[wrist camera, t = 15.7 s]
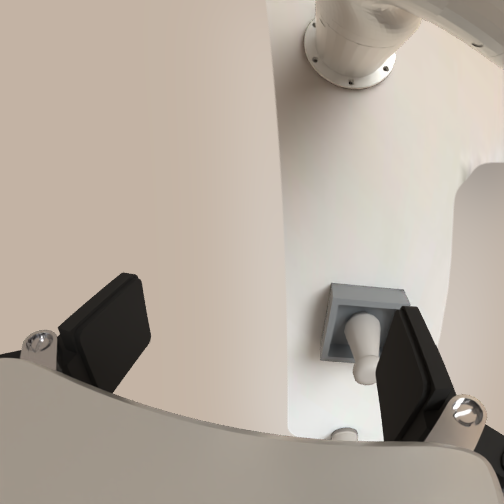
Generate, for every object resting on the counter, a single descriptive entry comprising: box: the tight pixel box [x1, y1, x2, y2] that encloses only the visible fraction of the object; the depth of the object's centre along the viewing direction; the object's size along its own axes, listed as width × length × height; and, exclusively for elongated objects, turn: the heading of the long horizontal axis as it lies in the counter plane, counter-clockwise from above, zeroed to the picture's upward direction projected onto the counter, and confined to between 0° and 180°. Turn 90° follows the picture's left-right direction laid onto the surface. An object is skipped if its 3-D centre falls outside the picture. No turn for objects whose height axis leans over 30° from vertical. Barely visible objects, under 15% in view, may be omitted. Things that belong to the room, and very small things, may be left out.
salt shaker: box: [344, 311, 381, 385], centre depth 40 cm, size 6×6×13 cm
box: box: [320, 283, 410, 363], centre depth 45 cm, size 12×12×4 cm
